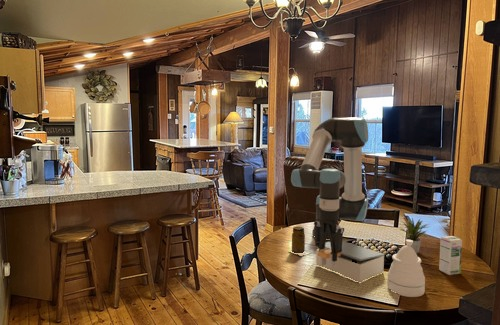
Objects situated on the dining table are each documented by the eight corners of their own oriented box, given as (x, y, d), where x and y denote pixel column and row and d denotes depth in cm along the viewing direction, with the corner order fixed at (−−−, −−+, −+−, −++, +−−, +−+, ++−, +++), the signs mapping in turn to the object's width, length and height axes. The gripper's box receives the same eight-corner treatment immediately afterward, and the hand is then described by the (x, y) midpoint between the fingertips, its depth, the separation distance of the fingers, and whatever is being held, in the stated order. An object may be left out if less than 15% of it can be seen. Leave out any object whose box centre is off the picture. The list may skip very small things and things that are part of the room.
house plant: (425, 260, 166) (427, 224, 164) (393, 253, 174) (395, 219, 172) (432, 251, 177) (434, 217, 175) (402, 245, 186) (403, 213, 184)
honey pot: (393, 278, 147) (395, 234, 145) (428, 287, 139) (431, 241, 137) (382, 289, 137) (383, 242, 135) (418, 300, 129) (421, 250, 127)
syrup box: (449, 275, 150) (451, 240, 148) (438, 269, 155) (440, 236, 154) (460, 273, 151) (463, 239, 149) (449, 268, 157) (451, 235, 155)
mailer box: (316, 266, 159) (316, 249, 158) (340, 257, 169) (340, 241, 168) (359, 283, 142) (360, 265, 141) (383, 273, 152) (384, 255, 151)
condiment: (298, 249, 181) (298, 225, 179) (311, 253, 174) (311, 229, 173) (287, 252, 176) (287, 227, 175) (300, 257, 170) (301, 231, 168)
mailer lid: (300, 249, 152) (301, 245, 152) (339, 243, 168) (340, 239, 168) (345, 266, 135) (345, 261, 135) (384, 257, 151) (384, 253, 151)
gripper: (306, 206, 148) (305, 262, 151) (340, 214, 135) (339, 276, 137) (318, 203, 153) (317, 258, 155) (353, 211, 139) (351, 271, 142)
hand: (327, 266), depth 146 cm, fingers closed on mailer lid, 4 cm apart
